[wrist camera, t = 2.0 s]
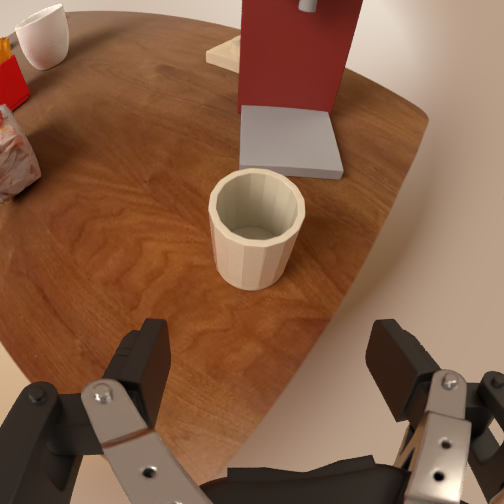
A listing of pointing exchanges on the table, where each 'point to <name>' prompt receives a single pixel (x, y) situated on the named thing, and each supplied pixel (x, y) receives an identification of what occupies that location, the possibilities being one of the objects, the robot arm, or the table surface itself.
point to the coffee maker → (292, 83)
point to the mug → (44, 37)
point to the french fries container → (11, 78)
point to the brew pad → (226, 55)
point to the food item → (15, 157)
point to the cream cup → (254, 226)
